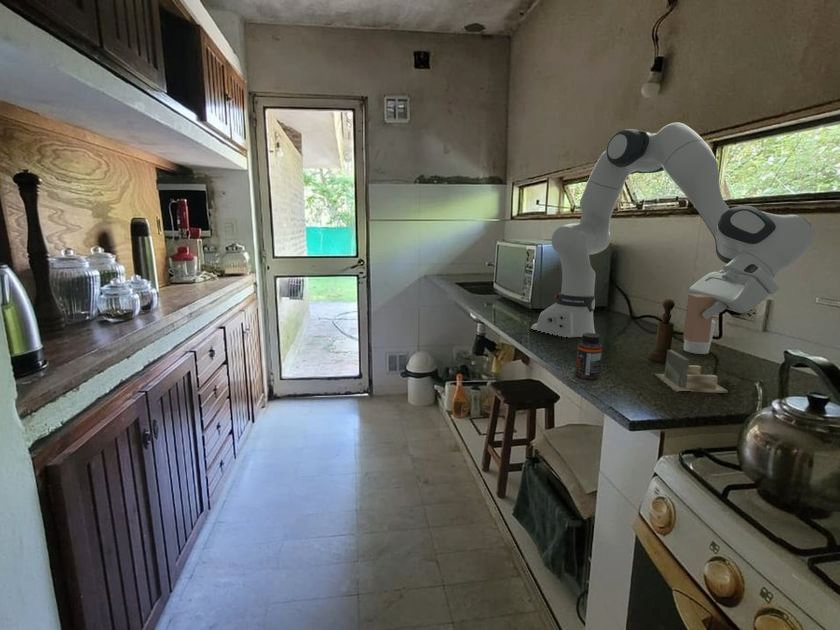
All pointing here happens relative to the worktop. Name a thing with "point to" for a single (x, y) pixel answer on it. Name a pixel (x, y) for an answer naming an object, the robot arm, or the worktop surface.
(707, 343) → the white cup
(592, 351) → the supplement bottle
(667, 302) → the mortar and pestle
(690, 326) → the pink rectangular block
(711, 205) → the robot arm
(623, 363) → the worktop surface
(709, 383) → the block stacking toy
